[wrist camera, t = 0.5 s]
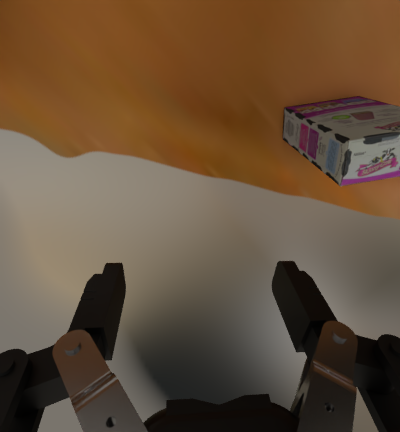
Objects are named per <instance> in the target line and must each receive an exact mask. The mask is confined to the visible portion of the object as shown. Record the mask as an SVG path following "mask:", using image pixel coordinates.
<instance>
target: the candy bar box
mask: <svg viewBox="0 0 400 432" xmlns="http://www.w3.org/2000/svg"><path fill="white" fill-rule="evenodd" d="M283 140H284V141H286V142H287V143H288V144H289V145H291V146H292V147H293V148H294V149H296V150H297V151H298V152H299V153H300V154H302V155H303V156H304V157H306V158H307V159H308V160H309V161H310V162H311V163H313V164H314V165H315V166H316V167H318V168H319V169H320V170H321V171H323V172H324V173H325V174H326V175H327V176H329V177H330V178H331V179H332V180H333V181H335V182H336V183H337V184H338V185H339V186H346V185H352V184H358V183H364V182H369V181H375V180H382V179H388V178H394V177H400V107H399V106H395V105H391V104H387V103H383V102H379V101H376V100H371V99H367V98H363V97H360V96H357V97H351V98H344V99H338V100H331V101H325V102H319V103H312V104H305V105H299V106H292V107H286V108H284V126H283Z"/></svg>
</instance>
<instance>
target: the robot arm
mask: <svg viewBox="0 0 400 432" xmlns="http://www.w3.org/2000/svg"><path fill="white" fill-rule="evenodd" d="M272 291H273V295H274V297H275V300H276V302H277V305H278V307H279V310H280V312H281V315H282V317H283V320H284V322H285V325H286V327H287V330H288V332H289V335H290V338H291V340H292V342H293V345H294V348H295V350H296V352H305V353H306V355H307V359H306V362H305V365H304V368H303V372H302V375H301V378H300V382H299V385H298V388H297V392H296V395H295V399H294V401H293V403H292V406H291V408H290V411H289V410H287V409H286V408H284V407H282V406H280V405H277V404H275V403H272V402H271V401H270V397H269V394H259V395H244V396H241V397H239V398H236V399H234V400H231V401H229V402H226V403H223V404H220V405H218V404H213V403H209V402H205V401H200V400H196V399H179V400H167V404H166V405H167V406H166V408H165V409H163V410H161V411H159V412H157V413H155V414H153V415H152V416H151V417H150V418H148V419H147V420H146V421H145V422H144V423H143V422H142V420H141V419H140V417H139V415H138V413H137V412H136V410H135V408H134V406H133V405H132V403H131V401H130V399H129V398H128V396H127V394H126V392H125V391H124V389H123V387H122V386H121V384H120V382H119V380H118V379H117V377H116V376H115V374H114V373H112V372H111V371H110V369H109V368H108V366H107V364H106V362H105V360H112V355H113V351H114V346H115V342H116V337H117V332H118V327H119V323H120V317H121V313H122V308H123V304H124V299H125V292H126V284H125V277H124V270H123V265H122V263H106V265H105V267H104V270H103V273H102V274H94V275H93V276H92V277H91V279H90V280H89V281H88V282H87V284H86V287H85V289H84V293H83V294H82V297H81V301H80V302H79V305H78V307H77V310H76V312H75V315H74V317H73V320H72V323H71V325H70V328H69V330H68V332H67V333H66V334H65V335H63V336H62V337H61V338H60V339H59V340H58V341H57V342H56V344H54V345H53V346H51V347H48V348H45V349H42V350H40V351H36V352H33V353H30V354H26V352H25V351H23V350H21V349H11V350H8V351H6V352H3V353H1V354H0V432H37V431H38V428H39V424H40V421H41V418H42V415H43V412H44V409H45V407H46V406H48V405H51V404H54V403H56V402H58V401H61V400H63V399H66V398H68V397H70V399H71V402H72V405H73V407H74V410H75V413H76V415H77V417H78V420H79V422H80V425H81V427H82V430H83V432H352V430H353V421H354V412H355V403H356V394H357V388H356V387H358V389H359V392H360V394H361V396H362V398H363V400H364V402H365V404H366V406H367V408H368V410H369V412H370V414H371V416H372V419H373V421H374V423H375V425H376V427H377V429H378V431H379V432H400V338H398V337H396V336H393V335H389V334H384V335H381V336H380V337H379V338H378V340H373V339H369V338H365V337H361V336H358V335H355V334H354V332H353V331H352V330H351V329H350V328H349V327H348V326H346V325H345V324H343V323H341V322H338V321H337V319H336V317H335V316H334V314H333V312H332V311H331V309H330V307H329V306H328V304H327V302H326V301H325V299H324V297H323V296H322V295H321V292H320V291H319V289H318V288H317V286H316V284H315V282H314V281H313V279H312V278H311V277H310V276H309V275H308V274H307V273H306V272H305V271H299V269H298V267H297V265H296V264H295V262H294V261H279V262H278V263H277V266H276V270H275V274H274V277H273V280H272Z"/></svg>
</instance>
